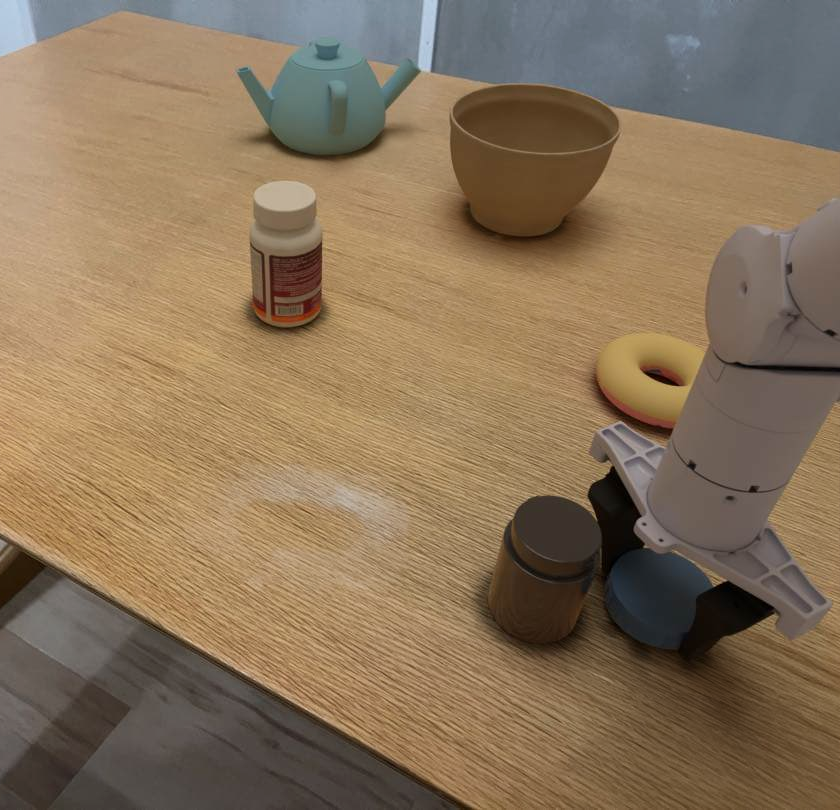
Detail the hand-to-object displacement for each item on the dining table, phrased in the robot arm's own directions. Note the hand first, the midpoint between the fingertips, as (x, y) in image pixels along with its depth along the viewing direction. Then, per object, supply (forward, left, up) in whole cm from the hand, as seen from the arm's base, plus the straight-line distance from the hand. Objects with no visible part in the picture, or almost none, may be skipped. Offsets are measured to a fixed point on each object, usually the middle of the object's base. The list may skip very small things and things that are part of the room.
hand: (653, 607), depth 50 cm
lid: (0, 0, +2) cm, 2 cm away
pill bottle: (+36, +15, 0) cm, 39 cm away
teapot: (+71, +2, 0) cm, 71 cm away
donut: (+18, -11, 0) cm, 21 cm away
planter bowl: (+47, -12, 0) cm, 48 cm away
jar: (+2, +7, 0) cm, 7 cm away
